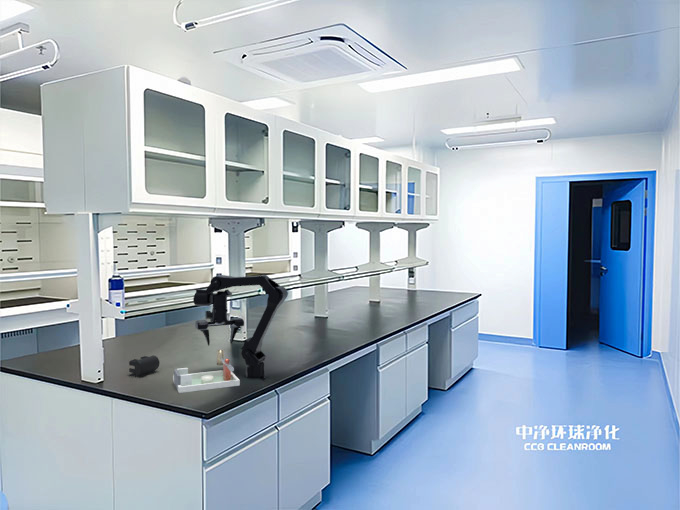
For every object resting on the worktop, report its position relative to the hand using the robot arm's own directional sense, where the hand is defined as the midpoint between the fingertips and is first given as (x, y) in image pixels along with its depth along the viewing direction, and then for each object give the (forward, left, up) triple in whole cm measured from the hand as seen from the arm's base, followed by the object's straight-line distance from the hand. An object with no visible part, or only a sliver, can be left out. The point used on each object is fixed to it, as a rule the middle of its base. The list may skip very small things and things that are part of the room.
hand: (219, 344), depth 199 cm
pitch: (+8, +11, -13) cm, 19 cm away
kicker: (0, +9, -11) cm, 15 cm away
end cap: (+28, -15, -13) cm, 34 cm away
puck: (+7, +11, -12) cm, 18 cm away
